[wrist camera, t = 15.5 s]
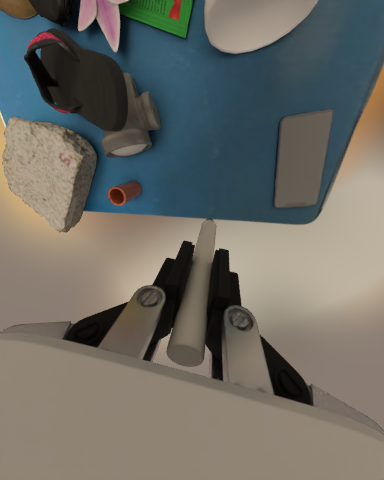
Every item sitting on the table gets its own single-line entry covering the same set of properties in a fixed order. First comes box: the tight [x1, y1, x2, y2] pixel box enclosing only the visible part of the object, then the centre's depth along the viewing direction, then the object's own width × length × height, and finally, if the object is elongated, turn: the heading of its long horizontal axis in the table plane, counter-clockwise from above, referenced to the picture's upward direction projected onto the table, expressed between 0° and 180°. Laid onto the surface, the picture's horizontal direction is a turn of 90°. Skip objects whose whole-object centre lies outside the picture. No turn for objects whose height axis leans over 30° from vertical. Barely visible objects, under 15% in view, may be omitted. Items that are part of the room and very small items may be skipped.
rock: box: [2, 117, 97, 232], centre depth 35 cm, size 20×17×10 cm
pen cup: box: [108, 181, 141, 206], centre depth 35 cm, size 3×4×7 cm
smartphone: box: [274, 109, 333, 208], centre depth 30 cm, size 8×1×15 cm
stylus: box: [167, 219, 216, 367], centre depth 12 cm, size 1×1×13 cm
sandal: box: [24, 29, 128, 132], centre depth 23 cm, size 10×25×6 cm
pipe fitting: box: [102, 72, 161, 157], centre depth 28 cm, size 12×8×10 cm
